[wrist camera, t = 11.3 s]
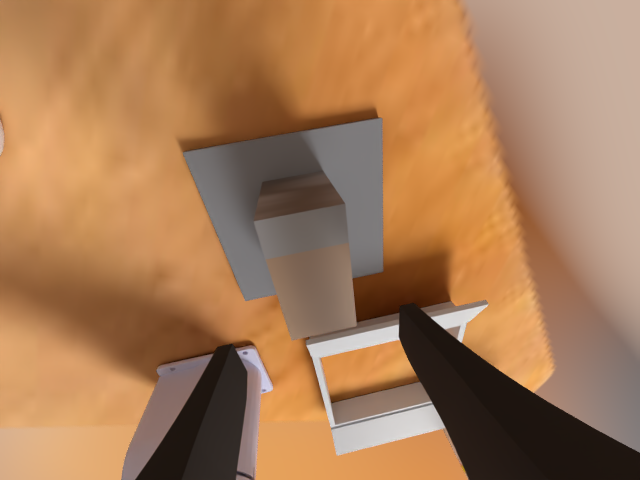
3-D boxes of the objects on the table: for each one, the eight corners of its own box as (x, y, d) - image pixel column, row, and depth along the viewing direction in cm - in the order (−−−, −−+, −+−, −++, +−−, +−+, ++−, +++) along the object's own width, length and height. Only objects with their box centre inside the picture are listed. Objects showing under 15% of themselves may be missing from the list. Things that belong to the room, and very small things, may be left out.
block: (288, 277, 19) (291, 340, 14) (262, 181, 15) (253, 221, 10) (336, 267, 19) (356, 326, 14) (323, 170, 15) (345, 203, 10)
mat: (246, 296, 20) (245, 301, 20) (186, 150, 14) (182, 152, 14) (380, 267, 21) (383, 271, 20) (378, 117, 15) (382, 117, 14)
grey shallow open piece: (330, 419, 33) (336, 455, 30) (301, 306, 22) (306, 344, 18) (432, 394, 34) (449, 427, 31) (457, 272, 23) (489, 303, 19)
